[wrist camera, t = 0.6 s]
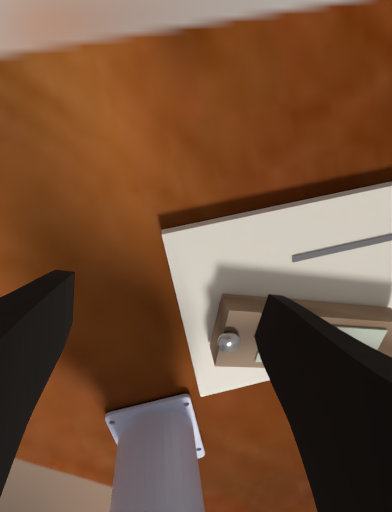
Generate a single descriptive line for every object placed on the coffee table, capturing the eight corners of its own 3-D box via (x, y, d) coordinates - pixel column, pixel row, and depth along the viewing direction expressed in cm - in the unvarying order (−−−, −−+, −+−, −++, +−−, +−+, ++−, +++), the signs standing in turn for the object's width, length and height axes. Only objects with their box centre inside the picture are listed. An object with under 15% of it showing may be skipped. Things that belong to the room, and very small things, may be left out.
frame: (366, 353, 26) (387, 375, 23) (205, 345, 23) (211, 370, 20) (390, 307, 24) (415, 326, 21) (218, 293, 21) (226, 313, 19)
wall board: (398, 339, 27) (407, 347, 26) (199, 387, 26) (200, 398, 25) (426, 173, 21) (440, 176, 20) (161, 229, 20) (161, 234, 19)
